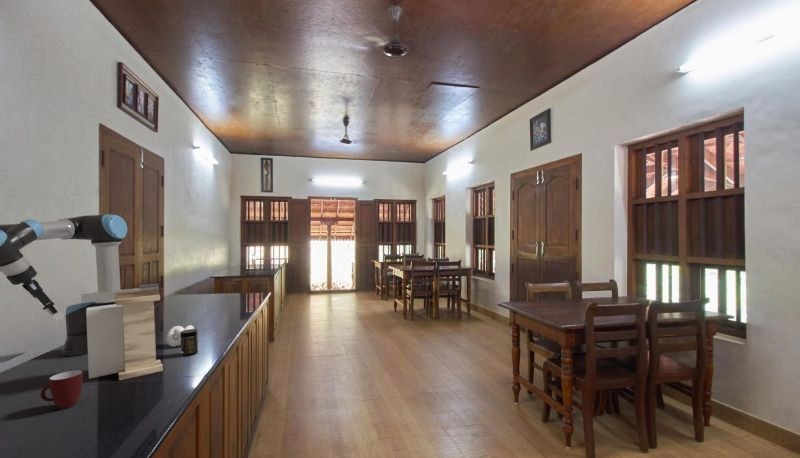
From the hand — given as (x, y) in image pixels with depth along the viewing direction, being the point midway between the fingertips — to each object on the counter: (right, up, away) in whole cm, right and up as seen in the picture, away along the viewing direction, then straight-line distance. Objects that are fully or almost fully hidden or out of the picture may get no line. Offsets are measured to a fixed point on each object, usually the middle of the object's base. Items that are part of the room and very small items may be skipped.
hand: (55, 314), depth 148 cm
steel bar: (+27, +6, -1) cm, 28 cm away
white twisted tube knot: (+28, -24, +37) cm, 53 cm away
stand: (+32, -23, +2) cm, 40 cm away
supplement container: (+40, -23, +22) cm, 52 cm away
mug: (+27, -24, -27) cm, 45 cm away
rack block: (+18, -24, +3) cm, 30 cm away
